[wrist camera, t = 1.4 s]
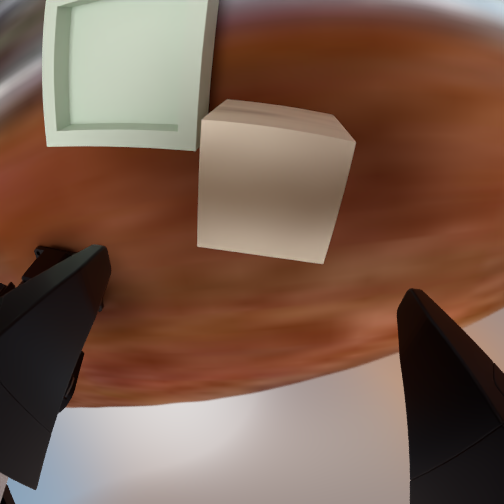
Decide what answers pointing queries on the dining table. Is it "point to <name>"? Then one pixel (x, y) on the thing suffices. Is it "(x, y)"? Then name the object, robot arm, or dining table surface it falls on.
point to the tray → (127, 72)
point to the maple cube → (271, 180)
